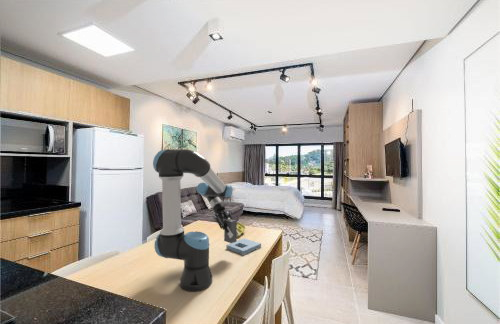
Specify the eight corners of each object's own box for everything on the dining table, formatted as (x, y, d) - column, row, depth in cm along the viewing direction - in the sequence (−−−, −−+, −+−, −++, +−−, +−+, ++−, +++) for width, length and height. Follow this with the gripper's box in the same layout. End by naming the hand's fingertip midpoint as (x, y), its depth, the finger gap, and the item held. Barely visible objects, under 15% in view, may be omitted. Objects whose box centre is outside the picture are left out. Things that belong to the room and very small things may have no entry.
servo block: (231, 243, 133) (231, 220, 133) (224, 240, 137) (224, 218, 137) (236, 241, 136) (236, 218, 136) (229, 239, 140) (229, 217, 141)
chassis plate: (243, 255, 138) (243, 251, 138) (226, 248, 149) (226, 244, 149) (261, 247, 152) (261, 243, 152) (244, 241, 162) (244, 238, 162)
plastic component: (238, 236, 168) (227, 229, 171) (234, 243, 170) (224, 237, 173) (247, 227, 187) (237, 221, 190) (243, 234, 188) (234, 228, 191)
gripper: (224, 207, 154) (241, 236, 142) (204, 211, 140) (221, 242, 129) (229, 200, 150) (247, 229, 139) (209, 203, 137) (227, 235, 126)
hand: (234, 235), depth 134 cm, fingers closed on servo block, 4 cm apart
